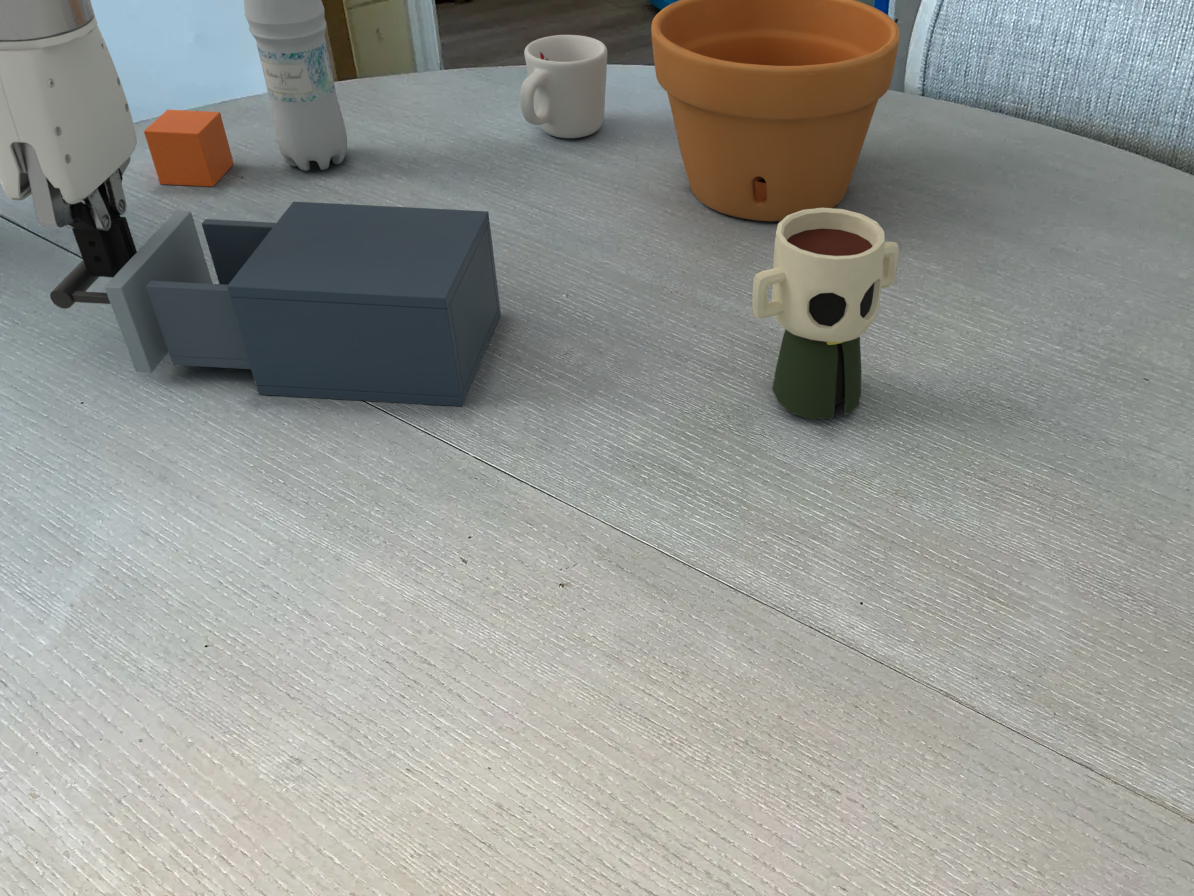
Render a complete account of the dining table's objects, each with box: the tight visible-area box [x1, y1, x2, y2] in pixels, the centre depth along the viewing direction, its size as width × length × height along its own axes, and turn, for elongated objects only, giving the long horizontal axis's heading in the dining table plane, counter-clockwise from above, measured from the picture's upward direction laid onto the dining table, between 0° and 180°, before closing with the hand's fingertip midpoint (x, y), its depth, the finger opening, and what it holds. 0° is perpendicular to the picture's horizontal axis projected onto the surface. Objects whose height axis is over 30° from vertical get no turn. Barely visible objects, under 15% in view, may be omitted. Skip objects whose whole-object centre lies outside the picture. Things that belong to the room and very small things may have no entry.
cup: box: [519, 34, 608, 139], centre depth 115 cm, size 11×8×8 cm
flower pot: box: [650, 0, 901, 222], centre depth 104 cm, size 21×21×15 cm
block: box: [143, 109, 235, 188], centre depth 108 cm, size 5×5×5 cm
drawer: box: [49, 210, 277, 374], centre depth 85 cm, size 19×11×7 cm, turn 86°
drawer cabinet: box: [227, 201, 502, 407], centre depth 84 cm, size 15×13×9 cm
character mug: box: [751, 207, 900, 420], centre depth 79 cm, size 11×7×13 cm, turn 117°
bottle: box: [243, 0, 348, 171], centre depth 105 cm, size 7×7×20 cm
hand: (115, 271), depth 85 cm, fingers closed
